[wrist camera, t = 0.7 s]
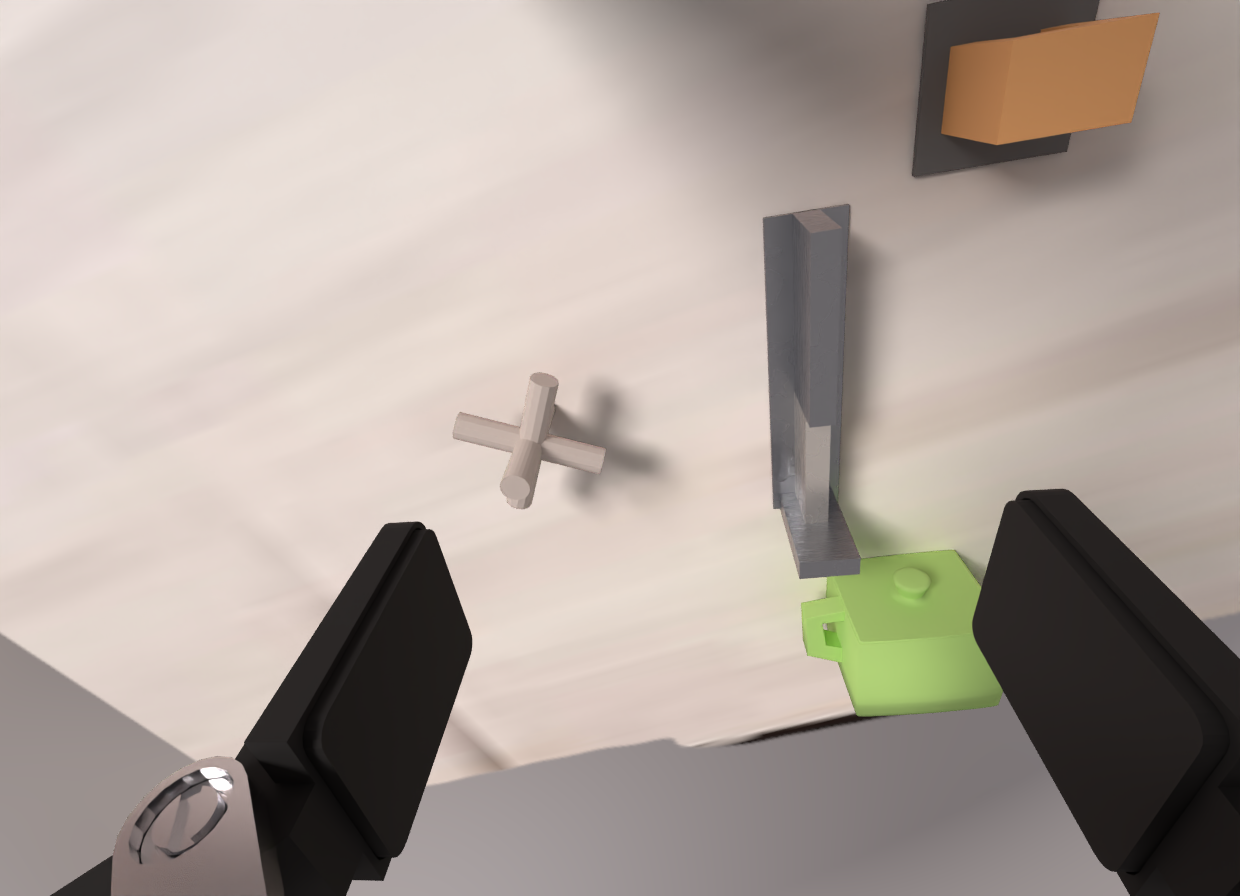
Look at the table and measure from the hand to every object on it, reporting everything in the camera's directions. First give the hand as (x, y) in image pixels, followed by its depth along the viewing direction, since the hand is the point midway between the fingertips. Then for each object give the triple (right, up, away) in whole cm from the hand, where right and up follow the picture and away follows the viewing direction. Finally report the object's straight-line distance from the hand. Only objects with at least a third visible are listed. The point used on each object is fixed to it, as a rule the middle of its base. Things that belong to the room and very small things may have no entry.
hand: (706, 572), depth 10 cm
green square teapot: (+23, -9, +41) cm, 48 cm away
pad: (+19, +22, +21) cm, 36 cm away
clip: (+19, +21, +21) cm, 35 cm away
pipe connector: (-7, +5, +34) cm, 35 cm away
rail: (+12, +7, +31) cm, 34 cm away
